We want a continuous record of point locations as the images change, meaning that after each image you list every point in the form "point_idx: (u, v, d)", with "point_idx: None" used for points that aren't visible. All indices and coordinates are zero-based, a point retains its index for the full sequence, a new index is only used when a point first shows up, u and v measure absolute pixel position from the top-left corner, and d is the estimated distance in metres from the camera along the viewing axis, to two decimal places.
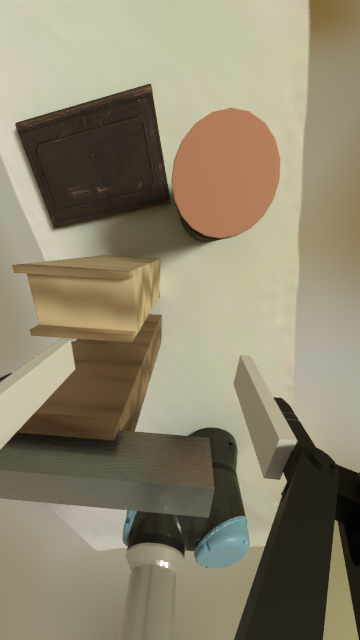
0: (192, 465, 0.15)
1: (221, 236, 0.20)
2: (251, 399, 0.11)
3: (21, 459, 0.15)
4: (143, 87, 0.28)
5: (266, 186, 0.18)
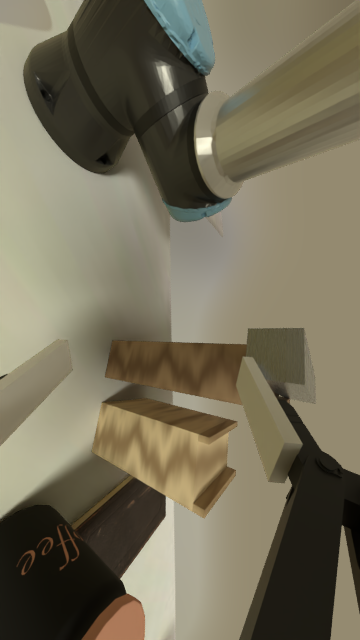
0: (283, 384, 0.14)
1: (104, 628, 0.14)
2: (254, 401, 0.11)
3: (306, 399, 0.24)
4: None
5: None
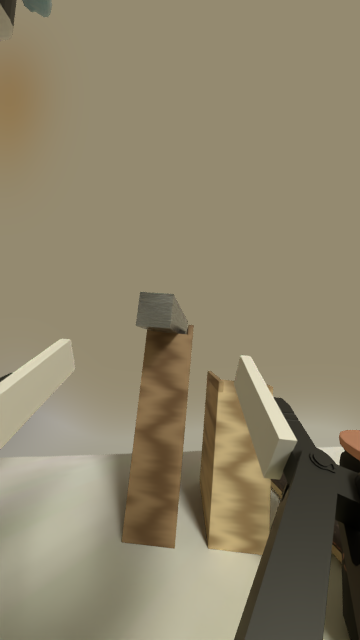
0: (174, 309, 0.23)
1: None
2: (251, 399, 0.11)
3: (184, 320, 0.36)
4: None
5: None
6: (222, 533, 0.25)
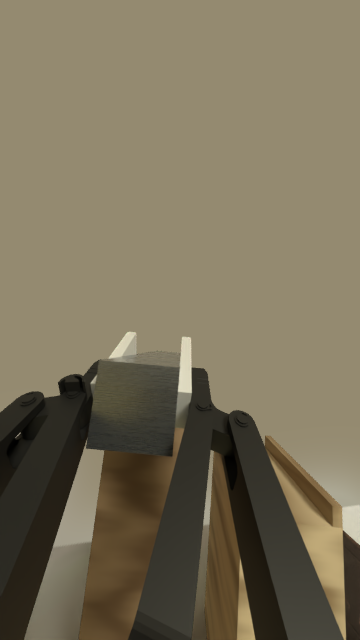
0: None
1: None
2: None
3: None
4: None
5: None
6: None
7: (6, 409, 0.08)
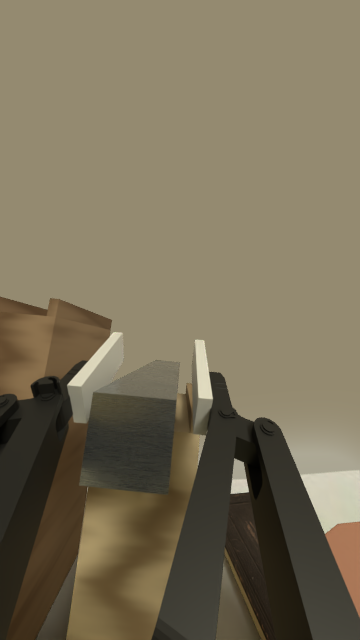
0: None
1: None
2: (194, 374, 0.13)
3: None
4: None
5: None
6: None
7: None
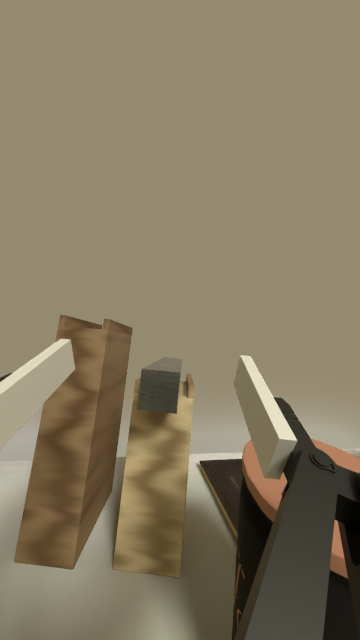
0: (179, 384, 0.20)
1: (250, 475, 0.13)
2: (251, 399, 0.11)
3: None
4: None
5: None
6: (129, 551, 0.22)
7: None
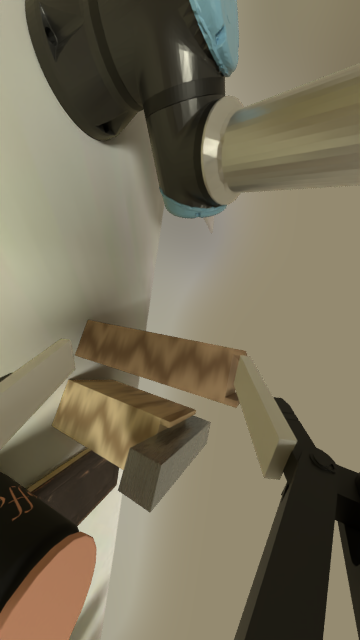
0: None
1: (56, 556, 0.16)
2: (251, 399, 0.11)
3: None
4: None
5: None
6: (71, 392, 0.33)
7: None
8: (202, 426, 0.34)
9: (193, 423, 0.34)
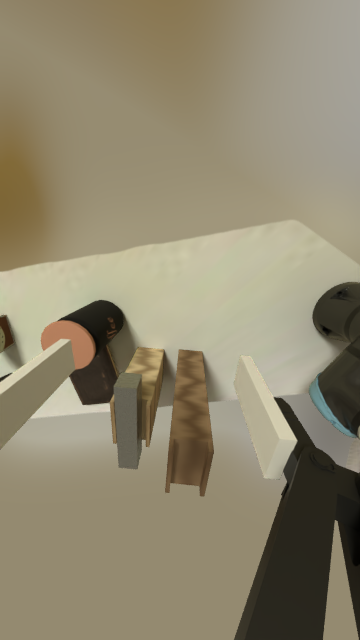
0: None
1: (92, 344, 0.36)
2: (251, 399, 0.11)
3: None
4: None
5: (63, 327, 0.35)
6: (157, 352, 0.55)
7: None
8: (137, 452, 0.39)
9: (139, 443, 0.40)
